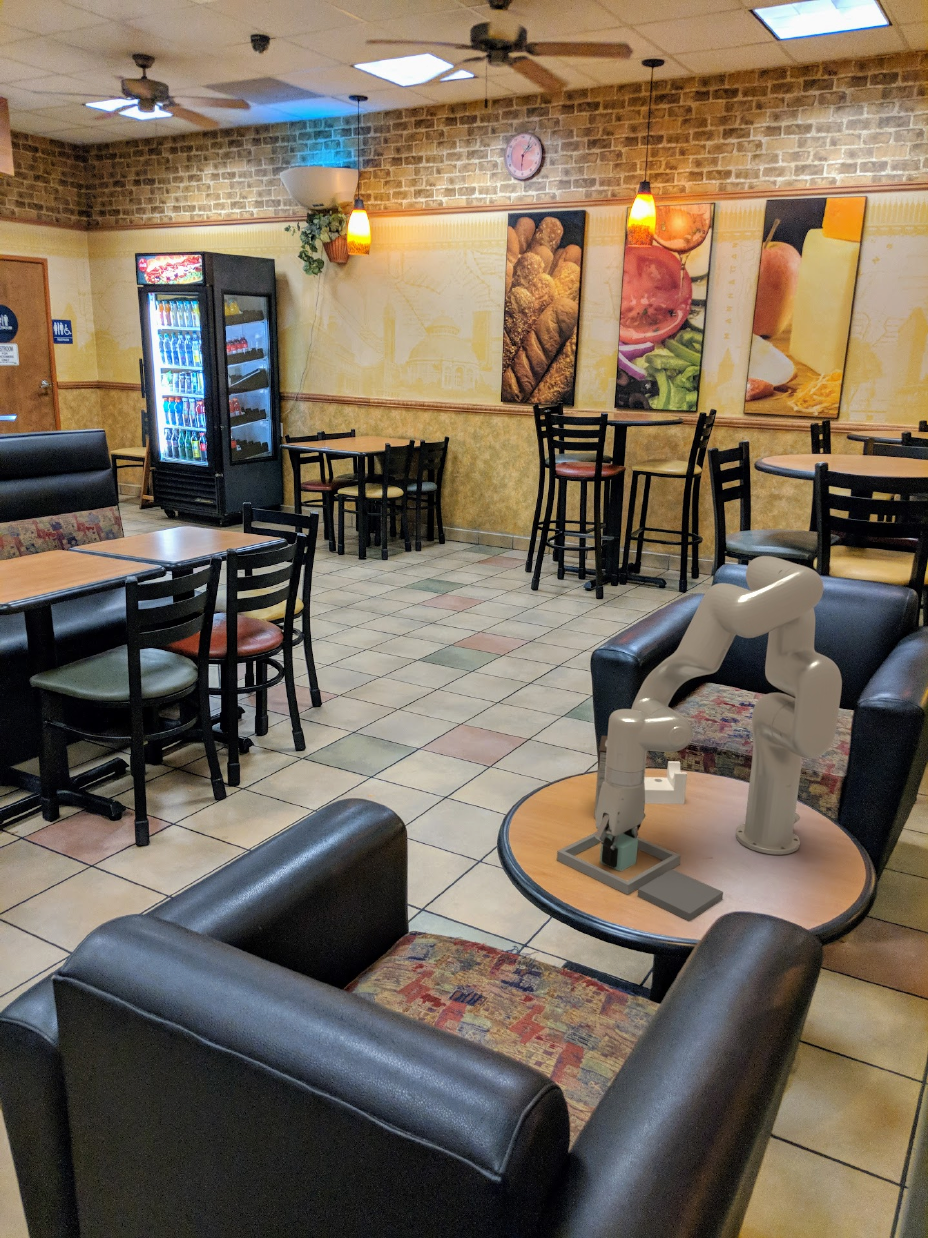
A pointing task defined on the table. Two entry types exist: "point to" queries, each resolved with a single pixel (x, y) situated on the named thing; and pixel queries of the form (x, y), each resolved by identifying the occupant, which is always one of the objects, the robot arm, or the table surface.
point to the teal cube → (624, 851)
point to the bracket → (666, 786)
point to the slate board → (680, 894)
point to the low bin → (609, 879)
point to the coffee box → (601, 769)
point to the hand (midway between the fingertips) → (618, 859)
